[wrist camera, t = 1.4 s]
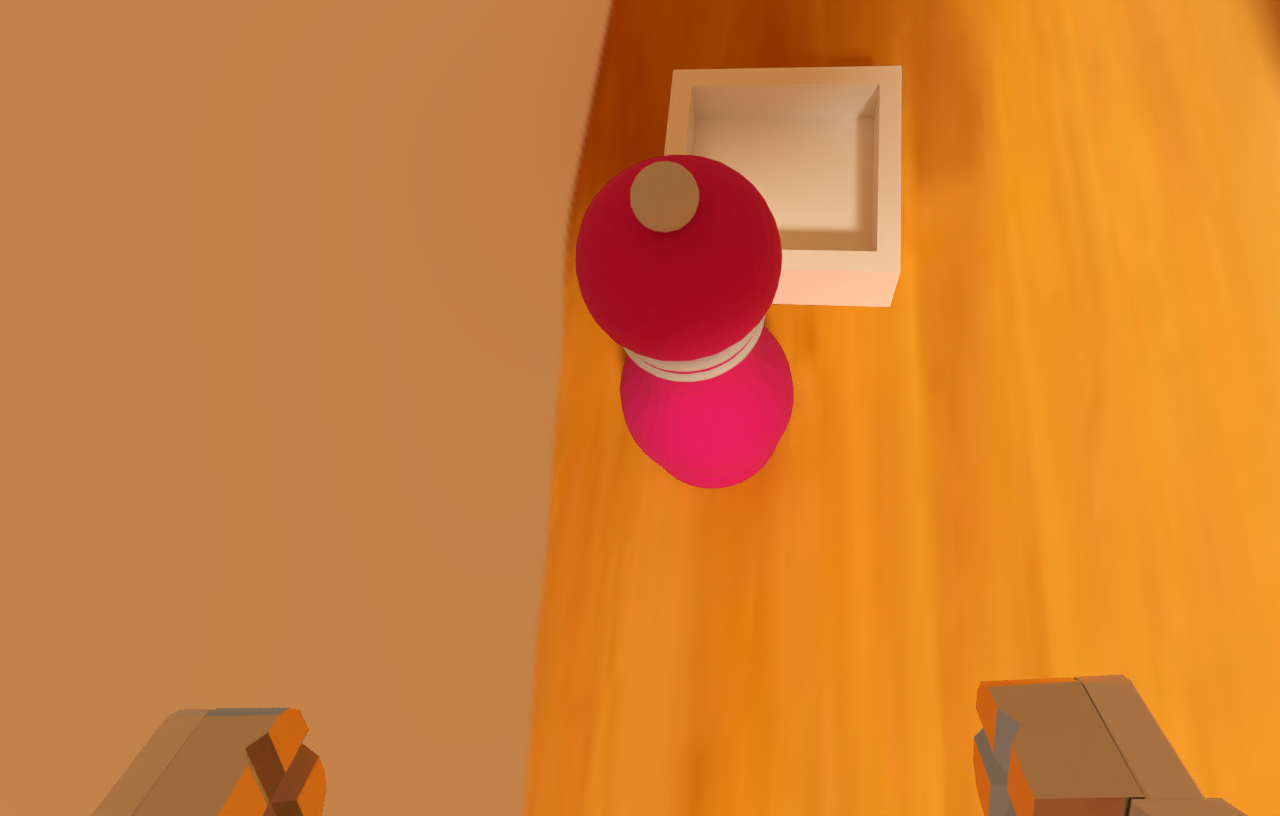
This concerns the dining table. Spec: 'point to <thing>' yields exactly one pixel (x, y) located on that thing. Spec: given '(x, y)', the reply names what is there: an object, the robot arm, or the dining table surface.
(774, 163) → the mill holder
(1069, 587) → the dining table surface
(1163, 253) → the dining table surface
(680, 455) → the pepper mill
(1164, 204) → the dining table surface
